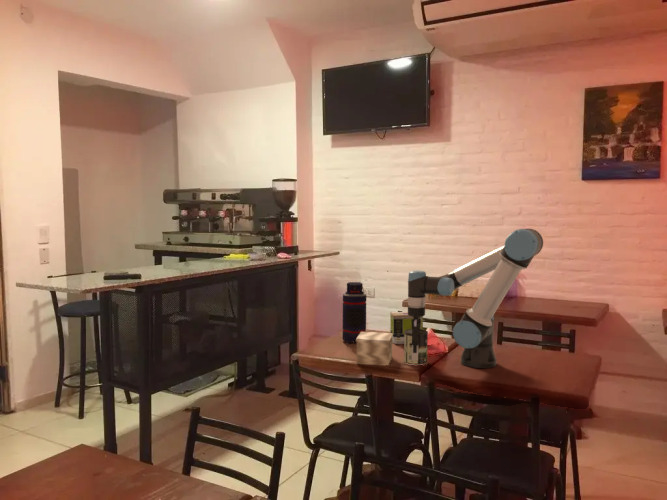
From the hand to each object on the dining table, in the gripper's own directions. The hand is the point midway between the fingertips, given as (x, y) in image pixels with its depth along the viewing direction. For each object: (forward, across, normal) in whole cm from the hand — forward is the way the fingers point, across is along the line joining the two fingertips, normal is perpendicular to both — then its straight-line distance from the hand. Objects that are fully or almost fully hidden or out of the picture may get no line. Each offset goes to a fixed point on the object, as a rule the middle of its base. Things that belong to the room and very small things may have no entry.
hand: (415, 356), depth 247 cm
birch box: (+3, 0, -18) cm, 18 cm away
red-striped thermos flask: (+3, -34, -33) cm, 47 cm away
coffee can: (+3, 0, 0) cm, 3 cm away
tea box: (+3, -39, -7) cm, 40 cm away
